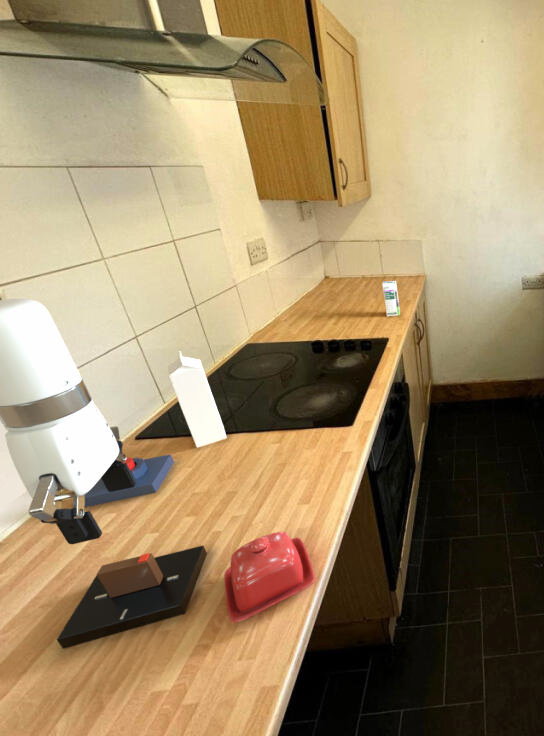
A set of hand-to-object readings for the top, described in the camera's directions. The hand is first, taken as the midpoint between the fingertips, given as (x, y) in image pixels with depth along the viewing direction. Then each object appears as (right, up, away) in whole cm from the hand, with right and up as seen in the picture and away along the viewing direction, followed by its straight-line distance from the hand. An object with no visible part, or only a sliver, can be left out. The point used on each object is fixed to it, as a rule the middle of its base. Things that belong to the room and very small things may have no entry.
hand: (106, 512), depth 56 cm
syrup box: (+3, +38, +127) cm, 133 cm away
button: (-23, -2, +28) cm, 36 cm away
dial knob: (-1, -13, +6) cm, 14 cm away
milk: (-18, +1, +44) cm, 47 cm away
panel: (-1, -15, +6) cm, 17 cm away
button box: (-23, -5, +29) cm, 38 cm away
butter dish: (+18, -14, +9) cm, 24 cm away
